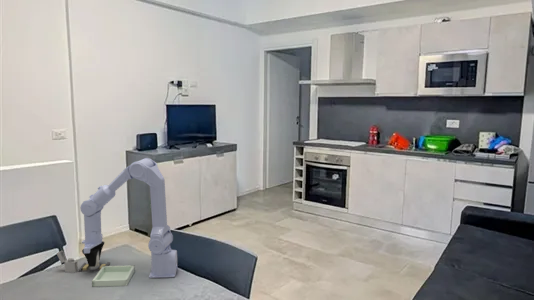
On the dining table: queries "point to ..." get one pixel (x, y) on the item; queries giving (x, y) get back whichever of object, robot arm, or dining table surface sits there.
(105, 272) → the tray
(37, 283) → the dining table surface
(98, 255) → the fuse
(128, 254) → the dining table surface
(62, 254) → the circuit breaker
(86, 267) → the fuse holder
